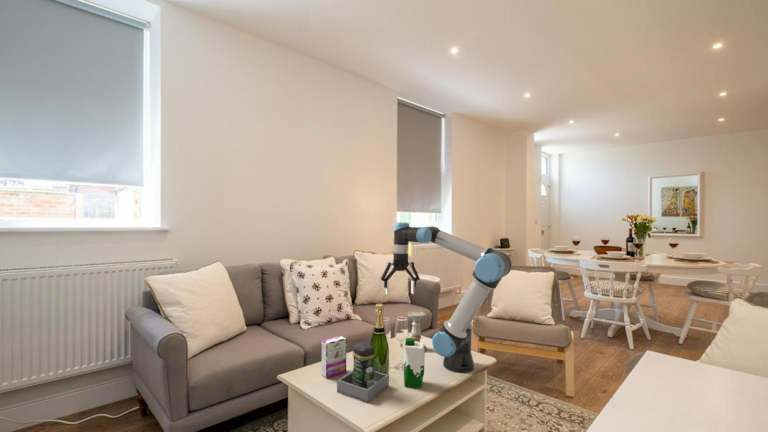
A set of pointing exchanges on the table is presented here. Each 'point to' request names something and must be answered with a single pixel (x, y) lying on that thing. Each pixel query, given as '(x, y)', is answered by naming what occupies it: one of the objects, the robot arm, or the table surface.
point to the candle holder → (416, 325)
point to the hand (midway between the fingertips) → (399, 294)
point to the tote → (361, 393)
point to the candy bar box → (333, 356)
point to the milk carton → (413, 363)
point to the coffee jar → (363, 365)
